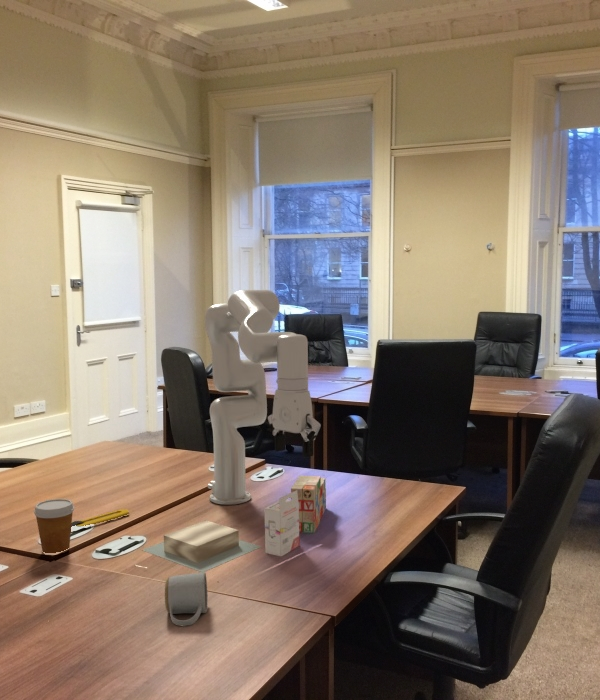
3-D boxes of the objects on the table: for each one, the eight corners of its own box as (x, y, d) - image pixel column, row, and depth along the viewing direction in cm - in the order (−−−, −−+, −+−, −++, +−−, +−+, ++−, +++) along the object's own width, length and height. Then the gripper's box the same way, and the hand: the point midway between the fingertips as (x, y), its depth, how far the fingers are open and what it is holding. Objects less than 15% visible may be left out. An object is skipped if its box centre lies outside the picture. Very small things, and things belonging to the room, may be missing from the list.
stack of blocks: (305, 507, 209) (305, 466, 207) (326, 508, 207) (326, 467, 206) (290, 532, 188) (290, 487, 186) (314, 534, 186) (313, 488, 185)
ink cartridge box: (283, 543, 180) (282, 486, 178) (299, 547, 177) (299, 489, 176) (264, 554, 172) (263, 495, 171) (281, 558, 170) (280, 498, 168)
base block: (164, 551, 174) (163, 535, 174) (205, 535, 185) (205, 520, 184) (197, 562, 166) (196, 546, 166) (238, 545, 177) (238, 530, 177)
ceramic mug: (168, 603, 146) (167, 568, 145) (207, 601, 147) (207, 566, 146) (163, 629, 136) (162, 591, 135) (206, 627, 136) (205, 589, 136)
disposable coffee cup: (38, 561, 169) (36, 512, 168) (33, 548, 178) (31, 501, 177) (79, 554, 174) (77, 506, 172) (72, 541, 182) (70, 496, 181)
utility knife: (48, 531, 191) (47, 524, 191) (120, 511, 207) (119, 504, 207) (61, 537, 186) (60, 530, 186) (133, 516, 203) (133, 509, 203)
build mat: (141, 551, 175) (141, 549, 175) (201, 529, 190) (201, 527, 190) (202, 574, 161) (202, 572, 161) (261, 548, 176) (261, 546, 176)
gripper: (257, 383, 176) (259, 451, 178) (307, 389, 164) (308, 462, 166) (279, 380, 182) (280, 446, 183) (329, 386, 170) (330, 456, 171)
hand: (293, 453), depth 174 cm, fingers open, 9 cm apart
